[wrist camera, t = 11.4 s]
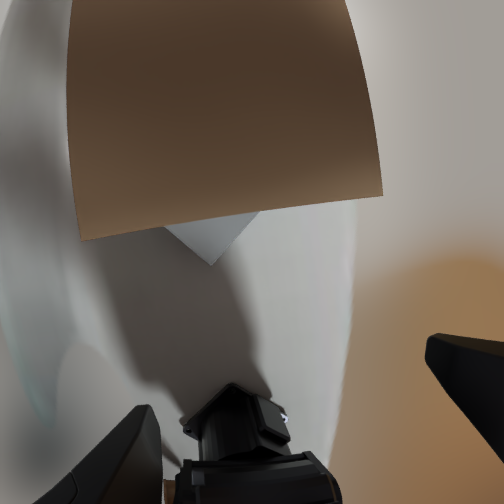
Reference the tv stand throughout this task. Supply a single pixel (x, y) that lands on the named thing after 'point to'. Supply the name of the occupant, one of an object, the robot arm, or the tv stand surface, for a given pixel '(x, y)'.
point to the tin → (169, 491)
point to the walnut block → (214, 110)
